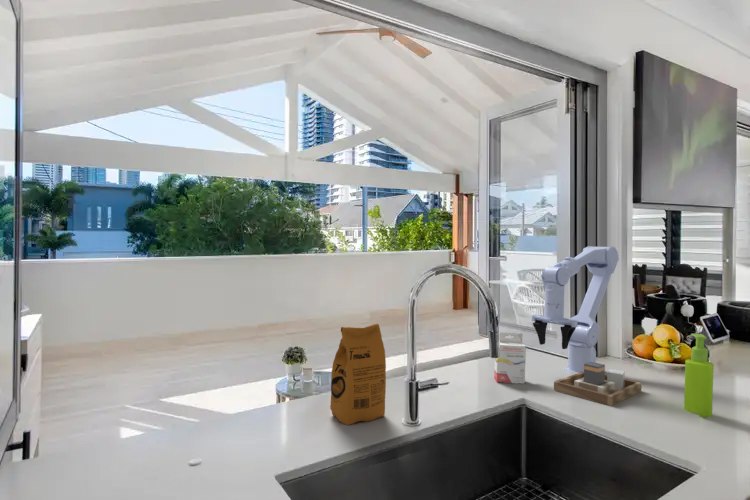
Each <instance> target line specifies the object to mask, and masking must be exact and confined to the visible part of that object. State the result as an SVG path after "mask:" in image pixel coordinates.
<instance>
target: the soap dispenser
mask: <svg viewBox="0 0 750 500" xmlns="http://www.w3.org/2000/svg"><path fill="white" fill-rule="evenodd" d="M690 336H691V337H695V346H693V347H691V355H690V356H691V358H689V359H685V361H684V363H685V366H684V367H685V368H684V395H683V397H684V398H683V400H684V401H683V409H684V411H686V412H689V413H692V414H696V415H698V416H699V417H700V418H711V417H712V416H713V395H714V392H713V391H714V363H713V362H710V361H709V360H708V359H709V358H708V356H709V355H708V353H709V349H708V348H706V347H705V340H707V336H706V335H704V334H703V333H690Z"/></svg>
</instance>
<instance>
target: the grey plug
mask: <svg viewBox="0 0 750 500" xmlns="http://www.w3.org/2000/svg"><path fill="white" fill-rule="evenodd" d="M625 373H626V372H625V371H624V370H618V369H612V368H609V369H608V370H607V372H606V375H607V381H610V382H615V391H619V390H621V389H623V388H624V379H625Z"/></svg>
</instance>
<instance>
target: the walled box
mask: <svg viewBox="0 0 750 500" xmlns="http://www.w3.org/2000/svg"><path fill="white" fill-rule="evenodd" d="M553 391H555V392H559V393H562V394H566V395H570V396H574V397H576V398H579V399H585V400H589V401H592V402H594V403H599V404H603V405H607V406H611V407H612V406H614V405H616V404H619V403H621V402H622V401H625V400H627V399H628V398H630V397H633V396H634V395H637V394H639V393H641V392H642V382H640V381H636V380H631V379H627V378H624V388H623V389H621V390H619V391H615V382H610V381H607V374H605V379H604V384H603V385H601V386H599V385H595V384H591V383H587V382H584V371H583V372H580V373H578V372H576V373H574V374H573V375H569V376H567V377H563V378H561V379H560V378H559V379H557V380H555V381H553Z"/></svg>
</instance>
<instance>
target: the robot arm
mask: <svg viewBox="0 0 750 500" xmlns="http://www.w3.org/2000/svg"><path fill="white" fill-rule="evenodd" d="M618 262H619V252H618V250H617V249H616V246H591V245H588V246H586V247H584V248H583V249H582V252H580V253H579V254H578V255H576V256H575V257H572V256H566V257H564V258H563V260H561V261H560V262H557V263H555V265H553V266H552V265H551V266H550V265H549V266H547V267H544V269H543V270H542V274H541V275H540V276H541V277H540V278H541V281H542V283H543V289H544V291H545V292H544V315H543V314H532V315H531V321H532V326H533V327H534V329H535V332H536V334H537V338H538V342H539V345H545V344H546V332H547V326H548V324H553V325H559V326H560V332H561V349H562V350H567V351H568V353H567V354H568V355H567V356H568V357H567V358H568V359H567V367H563V368H562V369H563V370H564V371H565V370H566V371H569V372H574V373H580V372H583V371H584V364H585V363H588V362H594V363H597V351H596V348H595V345H596V344H597V342H599V341H598V340H599V333H600V330H601V327H600V325H599V324H598V322H597V321H595V319H596V317H597V315H598V311H599V308H600V305H601V303H602V301H603V298H604V295H605V293H606V290H607V287H608V285H609V282H610V280H611V277H612V274H614V273H615V270H616V268H617V265H618ZM585 265H586V267H587V270H588V272H590V273H591V274H592V278H591V280H590V283H589V286H588V287H587V291H586V293H585V296H584V298H583V301H582V303H581V305H580V309H579V311H578V313H577V314H576V315H574V316H572V317H570V318H566V317H564V315H565V286H566V285H567V284H568V282H569V280H570V279H571V278H572V277H573V276H574V275H576V274H578V273H579V272H580V270H581V267H583V266H585Z"/></svg>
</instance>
